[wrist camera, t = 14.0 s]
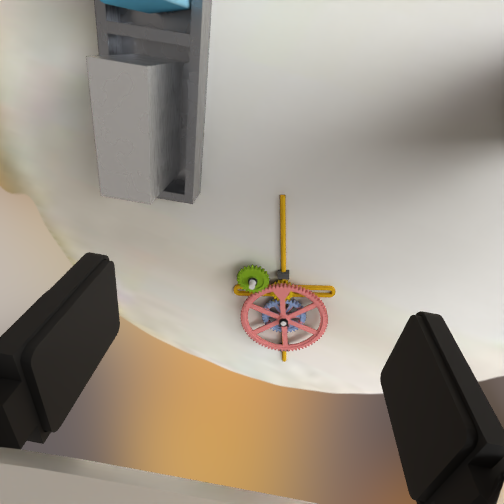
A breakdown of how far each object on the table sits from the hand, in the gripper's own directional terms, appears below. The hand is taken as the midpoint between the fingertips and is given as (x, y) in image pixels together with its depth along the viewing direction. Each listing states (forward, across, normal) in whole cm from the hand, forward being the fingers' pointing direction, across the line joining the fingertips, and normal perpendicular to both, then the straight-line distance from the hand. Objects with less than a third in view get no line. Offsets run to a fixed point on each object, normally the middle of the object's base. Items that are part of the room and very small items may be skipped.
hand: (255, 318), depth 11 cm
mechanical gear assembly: (+33, -4, +23) cm, 41 cm away
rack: (+32, +14, -6) cm, 36 cm away
